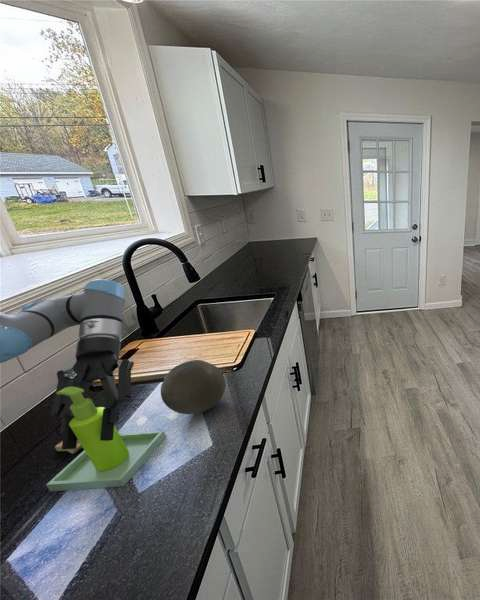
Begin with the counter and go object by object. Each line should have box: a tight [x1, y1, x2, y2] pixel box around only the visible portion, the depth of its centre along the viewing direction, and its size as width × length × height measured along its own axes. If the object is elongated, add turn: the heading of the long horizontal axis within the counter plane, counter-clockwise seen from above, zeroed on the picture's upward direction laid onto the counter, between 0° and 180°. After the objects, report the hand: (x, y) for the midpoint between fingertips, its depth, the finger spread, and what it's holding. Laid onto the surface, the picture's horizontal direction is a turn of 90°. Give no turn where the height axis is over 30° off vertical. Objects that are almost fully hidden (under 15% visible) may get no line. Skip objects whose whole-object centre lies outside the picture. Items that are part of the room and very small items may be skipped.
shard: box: [54, 439, 84, 455], centre depth 80 cm, size 11×8×2 cm
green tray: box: [45, 430, 167, 492], centre depth 72 cm, size 16×14×2 cm
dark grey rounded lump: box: [160, 359, 227, 415], centre depth 85 cm, size 14×14×15 cm
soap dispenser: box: [55, 386, 129, 472], centre depth 69 cm, size 6×7×20 cm
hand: (88, 444), depth 66 cm, fingers closed on soap dispenser, 6 cm apart
